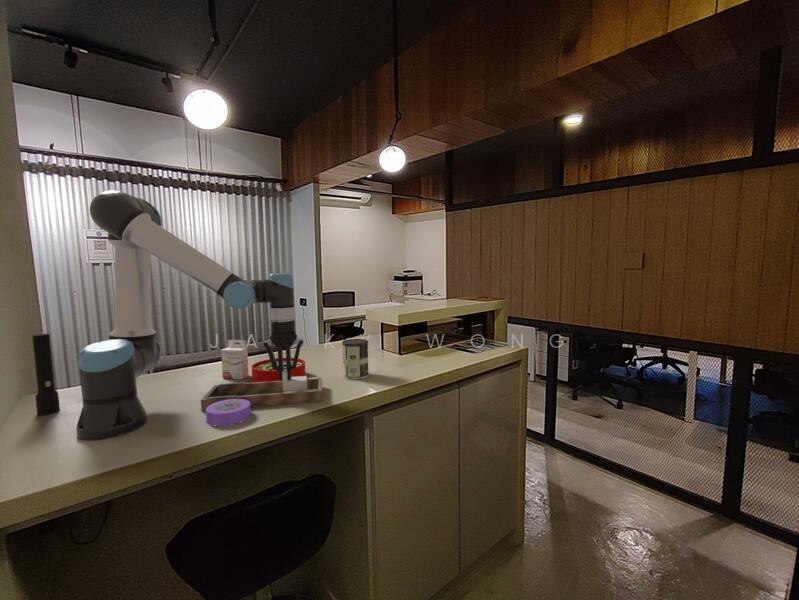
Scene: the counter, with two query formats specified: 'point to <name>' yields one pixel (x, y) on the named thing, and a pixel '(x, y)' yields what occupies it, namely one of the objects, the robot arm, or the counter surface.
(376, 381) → the counter surface
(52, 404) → the flashlight
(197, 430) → the counter surface
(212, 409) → the masking tape
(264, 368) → the toy clock
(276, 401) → the wooden tray
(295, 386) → the white cube
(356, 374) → the coffee can
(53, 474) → the counter surface
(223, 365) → the ink cartridge box
